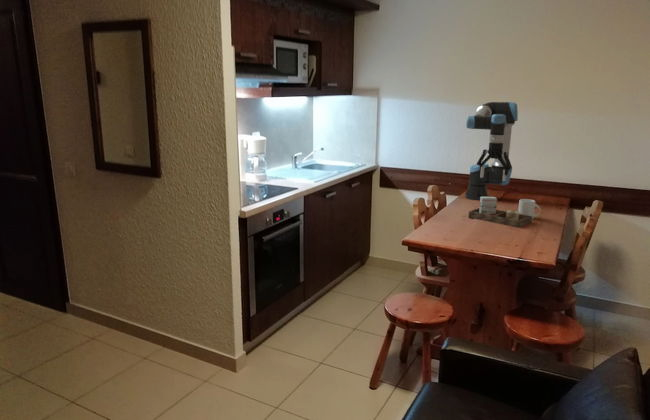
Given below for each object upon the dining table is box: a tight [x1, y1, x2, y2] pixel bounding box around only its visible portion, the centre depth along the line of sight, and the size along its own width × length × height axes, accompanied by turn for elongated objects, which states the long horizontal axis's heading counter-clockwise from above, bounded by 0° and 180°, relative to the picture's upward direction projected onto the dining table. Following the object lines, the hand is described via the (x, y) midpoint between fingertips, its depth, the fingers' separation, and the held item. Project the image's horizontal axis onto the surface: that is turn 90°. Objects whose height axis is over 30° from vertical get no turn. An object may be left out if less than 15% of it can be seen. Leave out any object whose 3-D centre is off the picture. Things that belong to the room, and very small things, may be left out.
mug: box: [517, 198, 542, 220], centre depth 277 cm, size 9×12×11 cm
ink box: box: [479, 196, 498, 216], centre depth 278 cm, size 9×5×12 cm, turn 85°
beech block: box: [506, 209, 519, 221], centre depth 269 cm, size 6×6×6 cm
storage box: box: [468, 207, 533, 229], centre depth 274 cm, size 30×16×4 cm, turn 45°
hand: (492, 179), depth 277 cm, fingers open, 13 cm apart
